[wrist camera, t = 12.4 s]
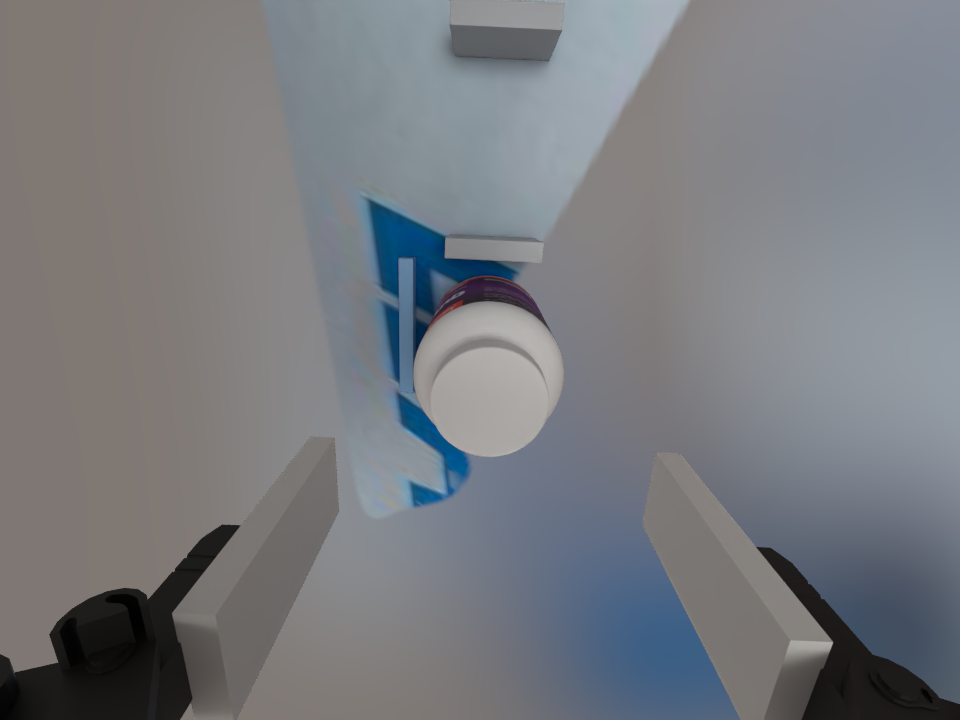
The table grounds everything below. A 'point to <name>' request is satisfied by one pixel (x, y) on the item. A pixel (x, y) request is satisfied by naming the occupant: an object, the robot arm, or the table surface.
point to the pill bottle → (488, 367)
